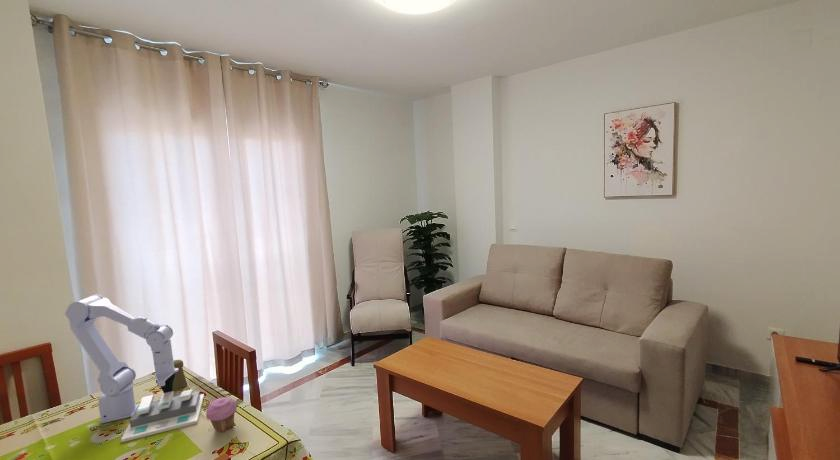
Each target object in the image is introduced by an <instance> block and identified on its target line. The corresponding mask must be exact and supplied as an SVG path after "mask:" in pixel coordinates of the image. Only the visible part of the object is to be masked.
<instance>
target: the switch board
mask: <svg viewBox="0 0 840 460" xmlns="http://www.w3.org/2000/svg"><path fill="white" fill-rule="evenodd" d="M179 396H180V395H176V396H173V397H172V401H171V404H170V407H168V408H164V409H160V410H158V404H159V402H160V399H158V400H153V402H152V404H151V408H150V410H149V413H144V414H140V415H137V410H138V407H139V405H140V403H138V404H139V405H138V406H137V408H136V410H135V412H134V413H133V415H132V417H130V418H129V424H128V426H127V428H126V429H125V431H124V433H123V435H122V437H121V439H120V442H121V443H125V442H129V441H132V440H137V439H141V438H144V437H147V436H148V437H149V436H152V435H156V434H160V433H163V432H167V431H171V430H176V429H179V428H184V427H188V426H192V425H195V424H198V423H199V418H200V415H201V409H202V405H203V404H204V403H203V402H204V397H205V394H204V393H203V394H201V393H200V390H198V391H193V393H192V395H191V399H189V400H184V401H180V402H178V397H179Z"/></svg>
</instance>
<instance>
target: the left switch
mask: <svg viewBox="0 0 840 460" xmlns="http://www.w3.org/2000/svg"><path fill="white" fill-rule="evenodd" d="M154 399H155V396H154V394H150V395H146V396H143V397H141V400H140V403H139V404H140V405H139V407H138V410H137V415H140V414H144V413H149V410H150V408H151V404H152V402H153V401H154Z"/></svg>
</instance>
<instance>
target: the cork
mask: <svg viewBox="0 0 840 460" xmlns="http://www.w3.org/2000/svg"><path fill="white" fill-rule="evenodd" d="M173 361H174V368H178V369H179V370H178V372H175V373H176V375H175V378H174V382H173V392H176V391H177V390H178V391H181V390H183V389H185V388H186V387H188V383H187V382H188V381H187V379H186V375H185V371H184V370H183V369H184V368H183V367H184V361H183V360H182V359H175V360H174V359H173ZM180 389H181V390H180Z"/></svg>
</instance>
